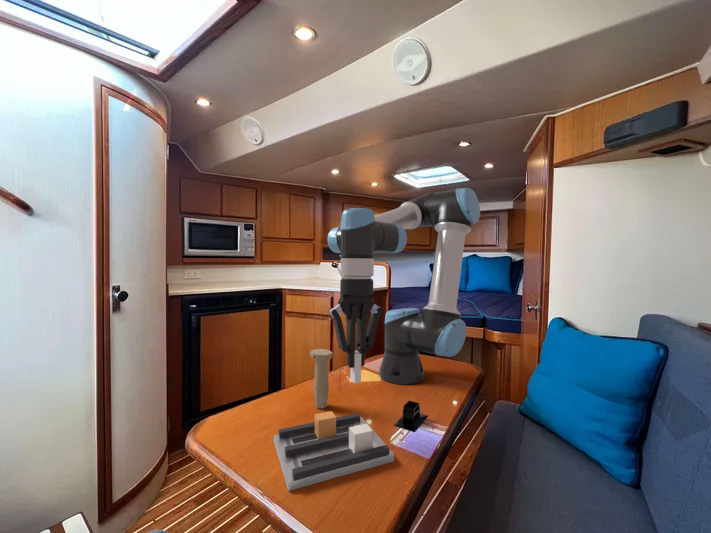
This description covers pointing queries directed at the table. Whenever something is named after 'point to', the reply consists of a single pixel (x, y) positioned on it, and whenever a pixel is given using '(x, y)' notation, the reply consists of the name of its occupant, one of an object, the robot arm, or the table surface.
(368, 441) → the toggle
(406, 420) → the black notched stand
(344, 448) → the panel
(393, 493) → the table surface
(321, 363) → the handle
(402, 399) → the table surface
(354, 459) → the slotted rail tray
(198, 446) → the table surface
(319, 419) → the toggle
